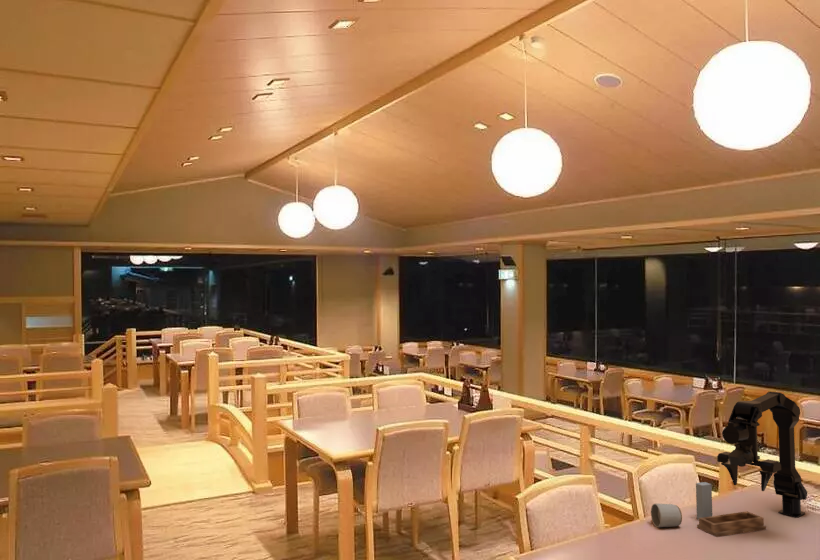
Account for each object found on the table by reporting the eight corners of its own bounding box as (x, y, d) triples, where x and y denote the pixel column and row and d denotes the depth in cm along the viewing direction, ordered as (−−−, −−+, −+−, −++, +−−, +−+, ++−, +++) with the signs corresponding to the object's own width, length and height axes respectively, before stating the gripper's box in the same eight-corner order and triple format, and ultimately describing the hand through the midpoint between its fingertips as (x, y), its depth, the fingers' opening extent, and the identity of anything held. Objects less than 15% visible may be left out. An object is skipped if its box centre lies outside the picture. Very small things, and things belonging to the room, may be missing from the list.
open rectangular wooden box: (745, 520, 226) (745, 510, 226) (766, 529, 218) (765, 518, 218) (697, 527, 221) (696, 517, 221) (716, 536, 212) (716, 526, 212)
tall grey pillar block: (706, 517, 230) (705, 482, 230) (712, 520, 227) (711, 484, 227) (696, 519, 229) (695, 483, 229) (702, 521, 226) (701, 485, 226)
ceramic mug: (684, 529, 219) (683, 506, 220) (660, 530, 218) (660, 507, 219) (668, 519, 230) (667, 497, 230) (646, 520, 229) (645, 498, 229)
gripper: (707, 438, 220) (708, 485, 219) (763, 448, 205) (765, 498, 204) (725, 435, 226) (726, 480, 226) (781, 443, 211) (782, 492, 210)
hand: (748, 487), depth 216 cm, fingers open, 9 cm apart
